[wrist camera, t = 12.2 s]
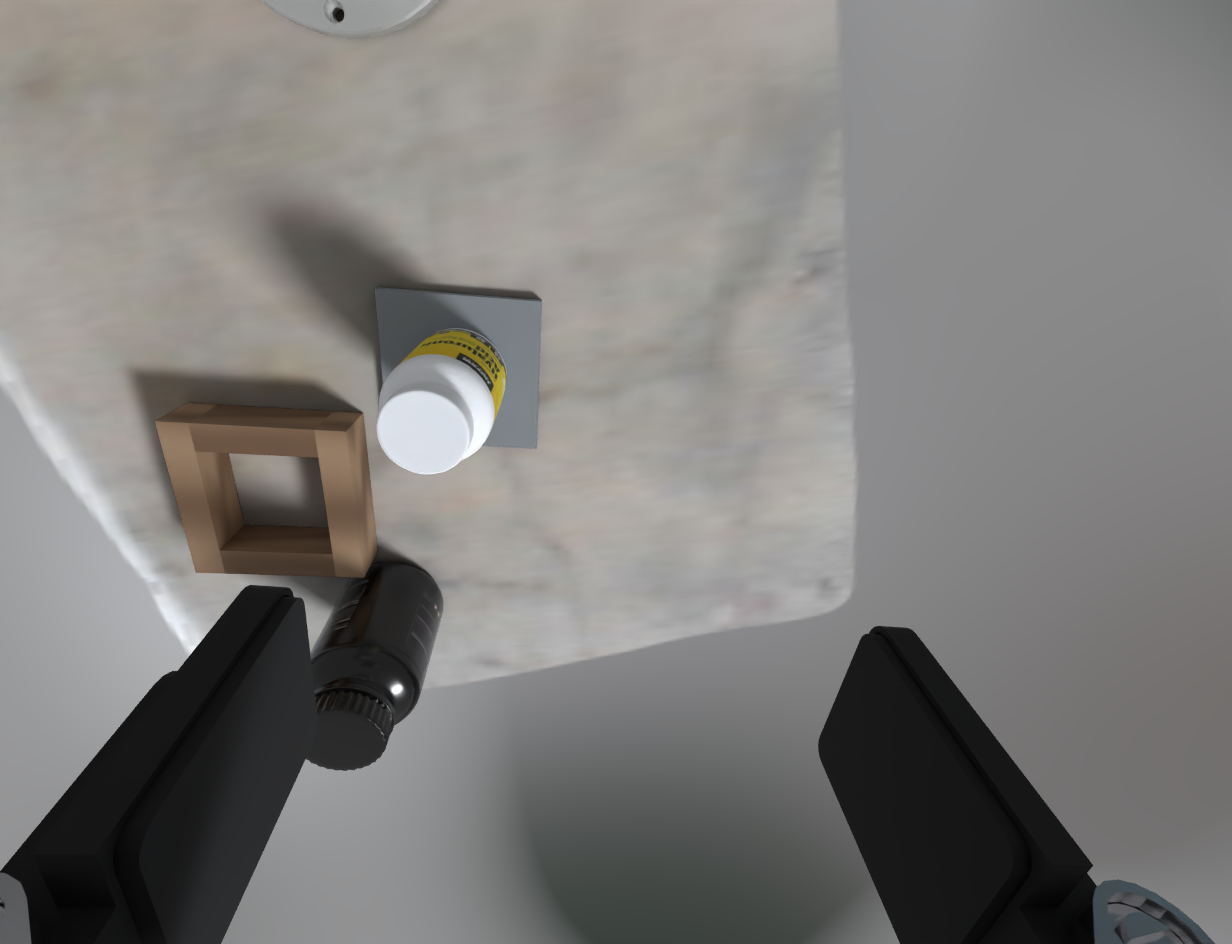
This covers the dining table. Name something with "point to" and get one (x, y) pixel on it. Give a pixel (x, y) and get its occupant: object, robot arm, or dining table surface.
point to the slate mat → (493, 317)
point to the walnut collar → (211, 500)
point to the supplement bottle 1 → (372, 662)
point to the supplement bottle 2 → (441, 401)
